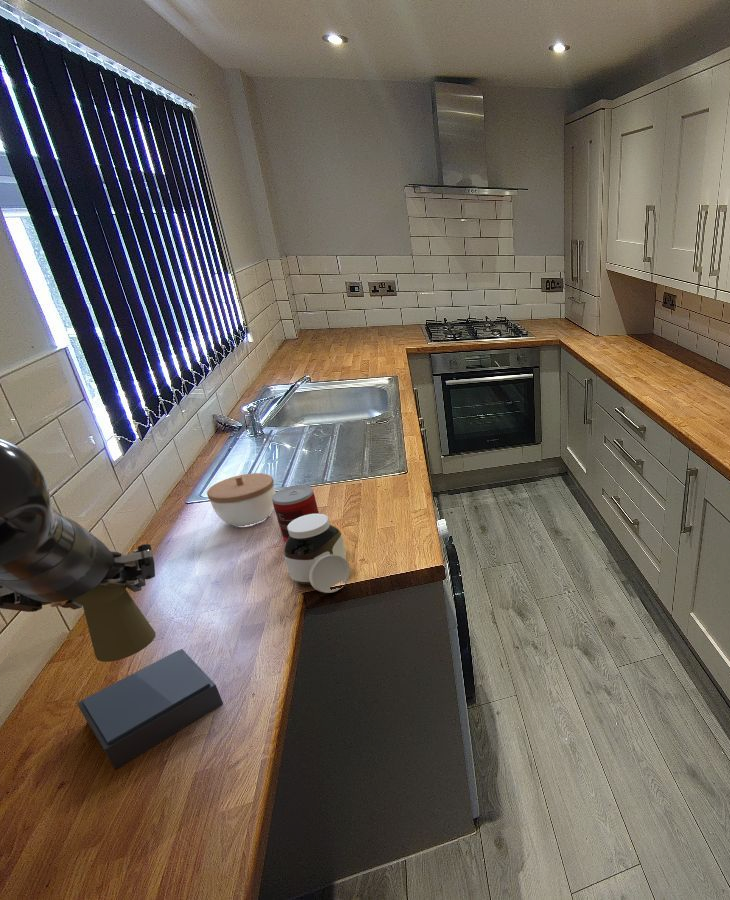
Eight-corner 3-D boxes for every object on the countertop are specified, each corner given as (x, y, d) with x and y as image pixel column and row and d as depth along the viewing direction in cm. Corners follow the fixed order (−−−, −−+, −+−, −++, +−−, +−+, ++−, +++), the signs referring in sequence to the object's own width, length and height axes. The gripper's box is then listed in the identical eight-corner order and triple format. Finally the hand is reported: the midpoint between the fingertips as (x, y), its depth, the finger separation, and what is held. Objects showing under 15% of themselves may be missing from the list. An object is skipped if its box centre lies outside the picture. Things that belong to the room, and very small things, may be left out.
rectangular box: (115, 770, 65) (103, 747, 63) (87, 722, 71) (75, 700, 70) (223, 703, 74) (215, 682, 72) (189, 666, 80) (181, 646, 79)
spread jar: (320, 557, 107) (307, 507, 102) (371, 562, 105) (360, 512, 101) (277, 595, 96) (261, 541, 92) (333, 601, 94) (319, 546, 90)
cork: (93, 644, 68) (59, 574, 64) (152, 621, 72) (123, 554, 68) (97, 669, 64) (60, 596, 60) (158, 644, 68) (128, 573, 64)
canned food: (318, 524, 119) (307, 481, 115) (328, 539, 113) (317, 494, 109) (280, 536, 115) (268, 491, 110) (288, 552, 109) (275, 506, 105)
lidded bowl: (269, 531, 116) (256, 487, 112) (207, 537, 115) (191, 492, 110) (291, 504, 128) (279, 463, 124) (235, 509, 126) (221, 467, 122)
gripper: (131, 503, 58) (172, 547, 72) (-61, 545, 50) (26, 585, 64) (143, 566, 56) (183, 598, 70) (-55, 620, 48) (33, 644, 62)
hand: (107, 592), depth 67 cm, fingers closed on cork, 5 cm apart
